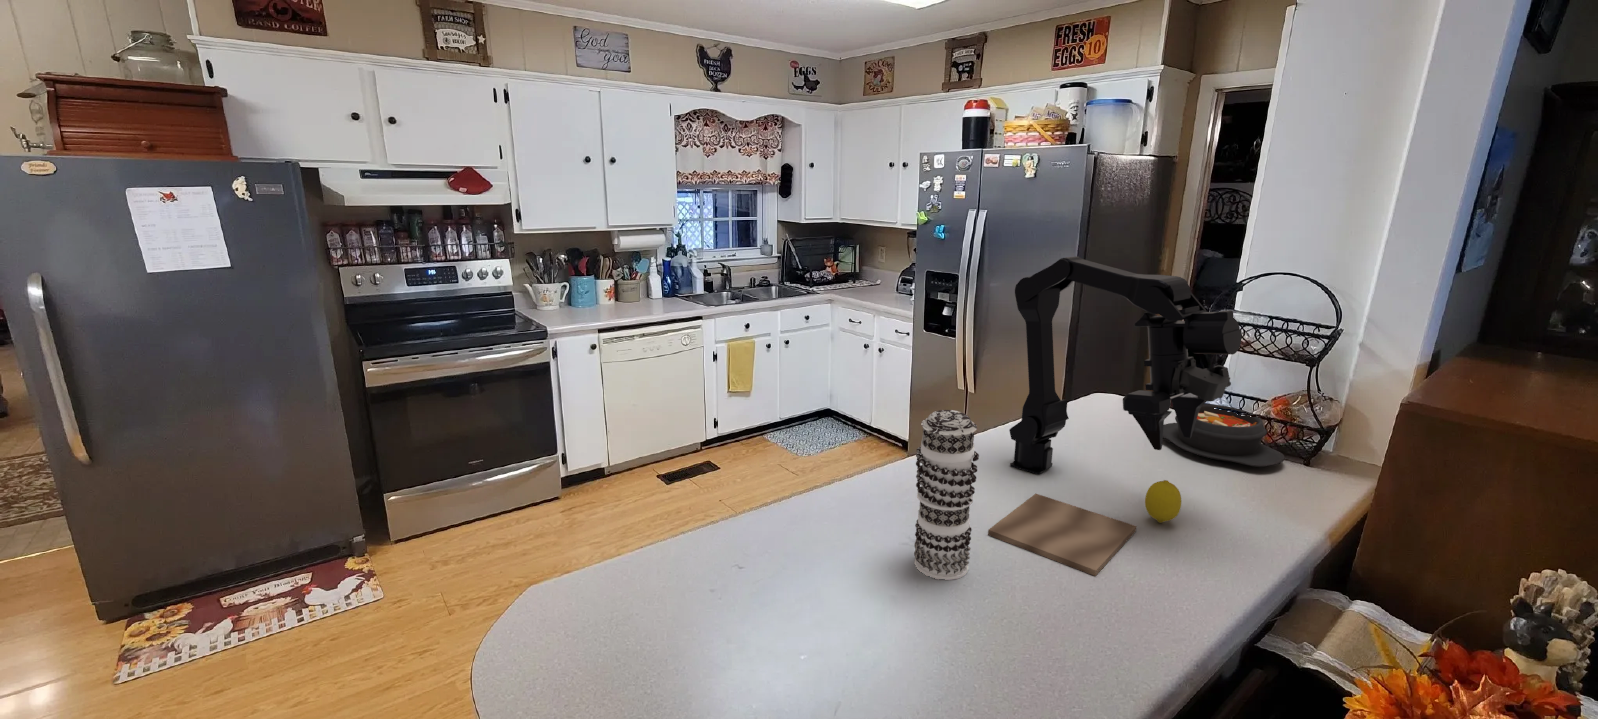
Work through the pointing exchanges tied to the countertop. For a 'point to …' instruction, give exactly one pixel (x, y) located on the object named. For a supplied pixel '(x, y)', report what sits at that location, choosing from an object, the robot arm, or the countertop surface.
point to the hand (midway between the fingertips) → (1173, 443)
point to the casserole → (1225, 437)
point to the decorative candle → (945, 494)
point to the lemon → (1163, 501)
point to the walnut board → (1064, 533)
